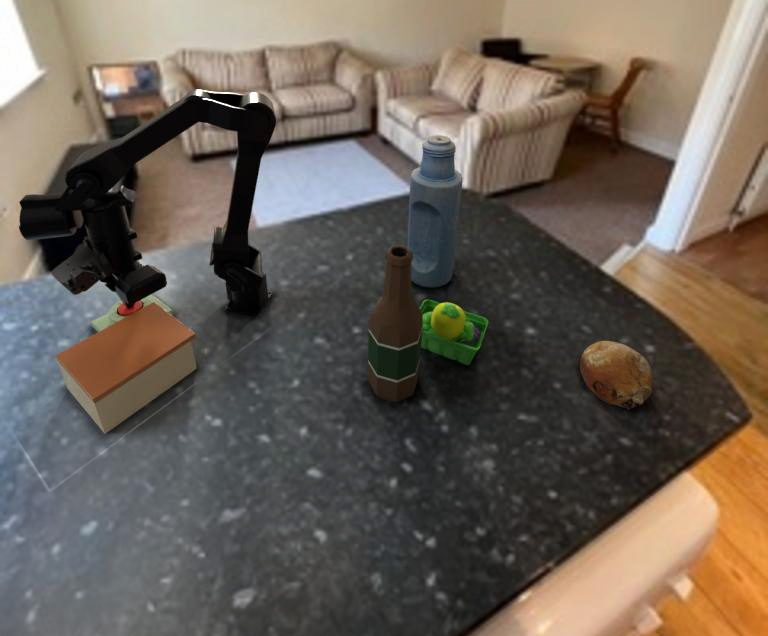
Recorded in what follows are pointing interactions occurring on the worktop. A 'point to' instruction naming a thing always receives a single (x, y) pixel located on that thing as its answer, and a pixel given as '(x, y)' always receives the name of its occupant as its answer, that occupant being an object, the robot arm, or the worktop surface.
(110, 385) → the box lid
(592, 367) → the brown oval lump
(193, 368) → the wooden box
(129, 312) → the button
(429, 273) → the bottle
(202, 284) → the worktop surface
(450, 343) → the fruit basket
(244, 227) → the robot arm
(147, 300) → the button housing
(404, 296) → the beer bottle
